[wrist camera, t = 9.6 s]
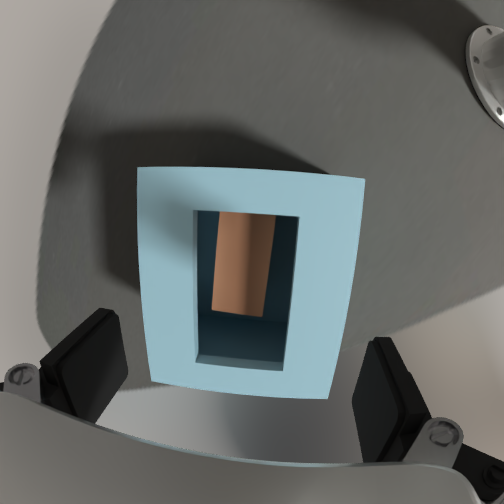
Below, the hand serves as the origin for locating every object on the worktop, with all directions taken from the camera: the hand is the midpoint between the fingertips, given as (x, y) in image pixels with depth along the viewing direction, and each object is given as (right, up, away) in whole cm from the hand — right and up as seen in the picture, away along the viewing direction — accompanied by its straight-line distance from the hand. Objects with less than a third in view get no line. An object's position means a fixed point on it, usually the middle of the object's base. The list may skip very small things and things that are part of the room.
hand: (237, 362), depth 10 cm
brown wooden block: (0, +5, +15) cm, 16 cm away
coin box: (+1, +4, +16) cm, 17 cm away
